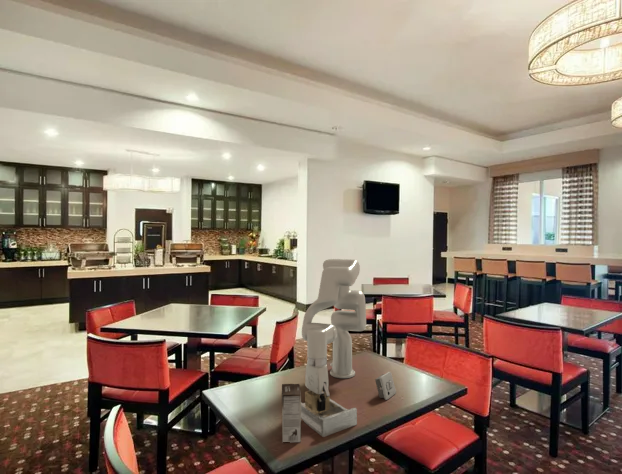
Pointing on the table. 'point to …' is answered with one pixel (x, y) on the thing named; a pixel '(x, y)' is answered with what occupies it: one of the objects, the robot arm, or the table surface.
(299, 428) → the coffee box
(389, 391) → the electrical switch
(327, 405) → the tan cardboard box
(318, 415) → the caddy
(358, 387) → the table surface
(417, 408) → the table surface
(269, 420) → the table surface
